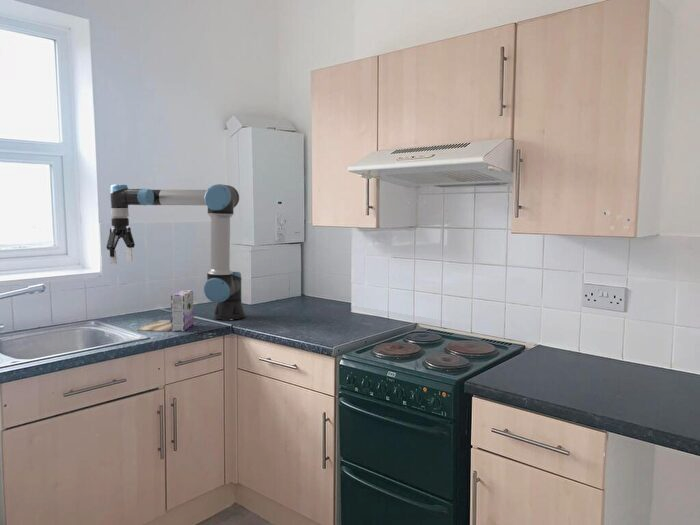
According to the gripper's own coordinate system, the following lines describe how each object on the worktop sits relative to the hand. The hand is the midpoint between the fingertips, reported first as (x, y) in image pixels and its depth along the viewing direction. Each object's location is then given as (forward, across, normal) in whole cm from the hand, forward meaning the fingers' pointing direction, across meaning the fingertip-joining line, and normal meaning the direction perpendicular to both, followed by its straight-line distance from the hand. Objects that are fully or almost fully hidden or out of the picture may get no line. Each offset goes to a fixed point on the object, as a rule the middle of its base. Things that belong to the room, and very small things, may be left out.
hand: (121, 262), depth 264 cm
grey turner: (+28, -1, +26) cm, 38 cm away
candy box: (+28, +11, +35) cm, 46 cm away
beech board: (+28, +11, +25) cm, 39 cm away
